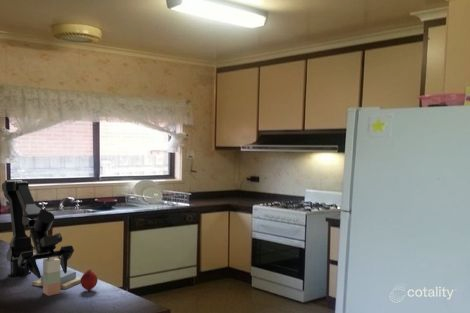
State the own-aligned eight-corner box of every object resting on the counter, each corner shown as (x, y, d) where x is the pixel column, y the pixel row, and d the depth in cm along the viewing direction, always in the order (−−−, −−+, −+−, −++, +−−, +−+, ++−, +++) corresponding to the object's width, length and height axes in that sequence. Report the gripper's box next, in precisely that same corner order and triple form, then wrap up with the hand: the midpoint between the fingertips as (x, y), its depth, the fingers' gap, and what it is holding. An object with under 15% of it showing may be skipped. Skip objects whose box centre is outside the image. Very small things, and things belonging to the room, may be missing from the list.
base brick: (40, 281, 177) (40, 275, 177) (56, 275, 185) (56, 269, 185) (60, 284, 174) (60, 277, 174) (76, 277, 182) (75, 271, 182)
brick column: (43, 292, 167) (43, 257, 167) (55, 290, 170) (55, 255, 170) (48, 295, 164) (47, 259, 164) (60, 293, 167) (60, 257, 167)
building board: (32, 285, 177) (32, 281, 177) (52, 277, 187) (52, 274, 187) (65, 288, 172) (65, 285, 172) (84, 280, 182) (84, 277, 182)
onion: (92, 293, 167) (92, 271, 166) (77, 292, 168) (77, 270, 168) (100, 288, 172) (100, 267, 172) (85, 288, 173) (85, 266, 173)
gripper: (20, 229, 163) (32, 267, 155) (71, 223, 176) (85, 257, 168) (12, 248, 169) (23, 285, 161) (63, 241, 182) (75, 275, 174)
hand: (53, 275), depth 166 cm, fingers open, 9 cm apart
